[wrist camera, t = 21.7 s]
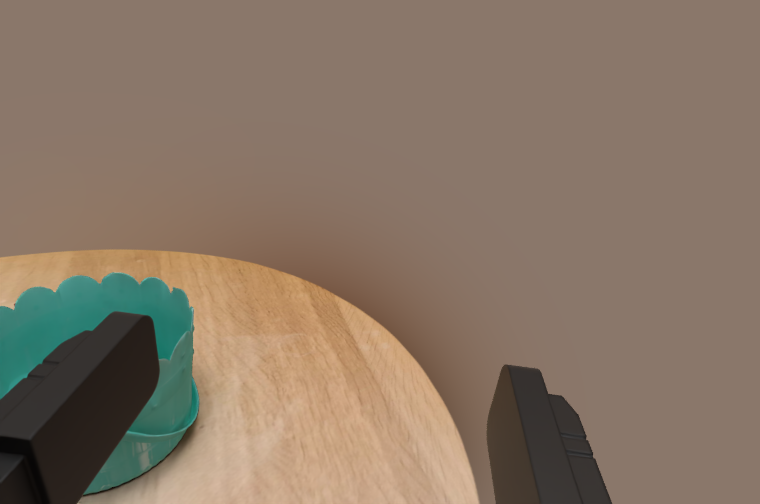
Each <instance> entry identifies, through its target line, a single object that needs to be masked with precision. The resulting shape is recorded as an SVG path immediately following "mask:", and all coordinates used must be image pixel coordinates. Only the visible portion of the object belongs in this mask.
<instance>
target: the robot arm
mask: <svg viewBox="0 0 760 504" xmlns="http://www.w3.org/2000/svg"><path fill="white" fill-rule="evenodd" d="M159 374H160V365H159V358H158V351H157V343H156V336H155V329H154V322H153V319H152V318H151V317H150V316H148V315H142V314H134V313H127V312H119V311H114V312H112V313H110V314H109V315H108V316H107V317H106V318H105V319H104V320H103V321H102V322H101V323H100V324H99V325H98V326H97V327H96V328H95V329H94V330H93V331H89V330H85V331H83V332H81V333H79V334H77V335H76V336H74V337H72V338H70V339H68V340H66V341H64V342H62V343H61V344H60V345H59V346H58V347H56V348H55V349H54V350H53V351H52V352H51V353H50V354H49V355H48V356H47V357H46V358H45V359H43V362H42V364H38V365H37V366H36V367H35V368H34V369H33V370H32V371H31V372H29V373H28V376H27V378H23V379H22V380H21V381H20V382H19V383H18V384H17V385H15V386H14V387H13V388H12V389H11V390H10V391H9V392H8V393H7V394H6V395H5V396H4V397H2V398H1V399H0V504H77V503H78V501H79V500H80V498H81V497H82V495H83V494H84V493H85V491H86V490H87V488H88V487H89V485H90V484H91V483H92V481H93V480H94V478H95V477H96V475H97V474H98V472H99V471H100V470H101V468H102V467H103V465H104V464H105V462H106V461H107V460H108V458H109V457H110V455H111V454H112V452H113V451H114V450H115V448H116V447H117V445H118V444H119V442H120V441H121V440H122V438H123V437H124V435H125V434H126V432H127V431H128V430H129V428H130V427H131V425H132V424H133V422H134V421H135V420H136V418H137V417H138V415H139V414H140V412H141V411H142V410H143V408H144V407H145V405H146V404H147V402H148V401H149V400H150V398H151V397H152V395H153V393H154V391H155V389H156V387H157V384H158V380H159ZM487 445H488V452H489V459H490V466H491V473H492V479H493V486H494V493H495V500H496V504H612V502H611V500H610V497H609V494H608V492H607V489H606V486H605V484H604V481H603V479H602V476H601V473H600V471H599V468H598V465H597V463H596V460H595V459H594V458H593V452H592V450H591V447H590V444H589V442H588V440H586V434H585V431H584V429H583V426H582V424H581V421H580V418H579V416H578V414H577V413H576V412H575V411H574V409H573V408H572V407H571V406H570V405H569V404H568V402H567V401H566V400H565V399H564V398H563V397H562V396H559V395H552V394H548V392H547V389H546V386H545V383H544V380H543V377H542V374H541V372H540V370H539V369H535V368H528V367H520V366H512V365H504V366H503V367H502V370H501V373H500V376H499V380H498V383H497V387H496V390H495V394H494V397H493V401H492V404H491V408H490V411H489V415H488V421H487Z"/></svg>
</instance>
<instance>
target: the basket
mask: <svg viewBox="0 0 760 504" xmlns="http://www.w3.org/2000/svg"><path fill="white" fill-rule="evenodd" d="M114 311H119V312H127V313H134V314H142V315H148V316H150V317H151V318H152V319H153V322H154V329H155V336H156V343H157V351H158V358H159V365H160V374H159V380H158V384H157V387H156V389H155V391H154V393H153V395H152V397H151V398H150V400H149V401H148V402H147V404H146V405H145V407H144V408H143V410H142V411H141V412H140V414H139V415H138V417H137V418H136V420H135V421H134V422H133V424H132V425H131V427H130V428H129V430H128V431H127V432H126V434H125V435H124V437H123V438H122V440H121V441H120V442H119V444H118V445H117V447H116V448H115V450H114V451H113V452H112V454H111V455H110V457H109V458H108V460H107V461H106V462H105V464H104V465H103V467H102V468H101V470H100V471H99V472H98V474H97V475H96V477H95V478H94V480H93V481H92V483H91V484H90V485H89V487H88V488H87V490H86V491H85V493H84V494H83V495H85V494H89V493H97V492H99V491H101V490H107V489H110V488H111V487H116V486H119V485H121V484H122V483H125V482H128V481H130V480H131V479H133V478H136V477H138V476H140V475H141V474H142V473H144V472H146V471H148V470H150V468H151V467H153V466H155V465H157V464H158V463H159V461H161V460H163V459H164V458H165V457H166V455H168V454H169V453H170V452H171V451H172V450H173V448H174V447H176V446H177V444H178V442H179V441H180V440H181V439H182V437H183V435H184V434H185V432H186V429H187V428H188V427H189V426H190V425H191V424H192V423H193V422H194V420H195V419H196V417H197V414H198V410H199V395H198V390H197V387H196V384H195V381H194V379H193V377H192V360H193V353H194V349H193V331H194V326H193V317H194V309H193V307H192V306H191V307H189V301H188V298H187V295H186V294H185V292H184V291H183V290H181V289H178V288H175V287H173V291H172V293H170V290H169V288H168V286H167V285H166V284H165V283H164V282H163V281H162V280H161V279H159V278H156V277H148V278H145V279H144V280H143V281H142V282H141V284H140V285H139V283H138V282H137V281H136V280H135V279H134V278H133V277H132V276H130V275H128V274H125V273H114V272H113V273H110V274H108V275H107V276H105V277H104V278H103V279H102V282H101V284H99V283H98V282H97V281H95V280H94V279H92V278H90V277H88V276H81V275H80V276H72V277H70V278H68V279H66V280H64V281H63V282H62V283H61V284H60V285H59V287H58V289H57V290H56V292H53V291H52V290H51V289H48V288H45V287H33V288H30V289H28V290H26V291H24V292H23V293H22V294H21V295H20V296H19V298H18V299H17V301H16V303H15V308H14V310H12V309H10V308H8V307H5V306H0V399H1V398H2V397H4V396H5V395H6V394H7V393H8V392H9V391H10V390H11V389H12V388H13V387H14V386H15V385H17V384H18V383H19V382H20V381H21V380H22V379H23V378H27V376H28V373H29V372H31V371H32V370H33V369H34V368H35V367H36V366H37V365H38V364H42V362H43V359H45V358H46V357H47V356H48V355H49V354H50V353H51V352H52V351H53V350H54V349H55V348H56V347H58V346H59V345H60V344H61V343H62V342H64V341H66V340H68V339H70V338H72V337H74V336H76V335H77V334H79V333H81V332H83V331H85V330H89V331H93V330H94V329H95V328H96V327H97V326H98V325H99V324H100V323H101V322H102V321H103V320H104V319H105V318H106V317H107V316H108V315H109V314H110V313H112V312H114Z"/></svg>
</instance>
